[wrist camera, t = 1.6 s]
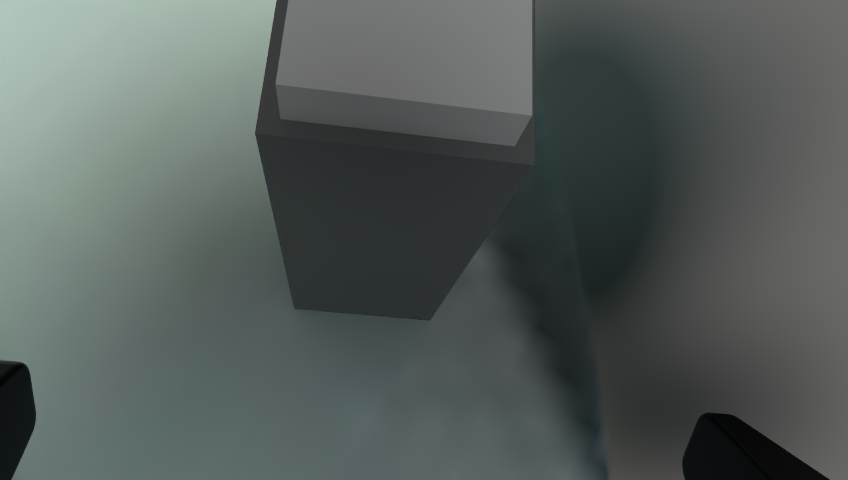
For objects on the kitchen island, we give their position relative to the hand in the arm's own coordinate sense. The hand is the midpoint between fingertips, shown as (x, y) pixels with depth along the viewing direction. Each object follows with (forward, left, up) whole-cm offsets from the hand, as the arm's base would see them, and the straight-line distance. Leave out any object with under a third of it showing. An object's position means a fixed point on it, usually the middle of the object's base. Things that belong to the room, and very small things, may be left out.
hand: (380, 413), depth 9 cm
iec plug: (+6, +1, -12) cm, 14 cm away
